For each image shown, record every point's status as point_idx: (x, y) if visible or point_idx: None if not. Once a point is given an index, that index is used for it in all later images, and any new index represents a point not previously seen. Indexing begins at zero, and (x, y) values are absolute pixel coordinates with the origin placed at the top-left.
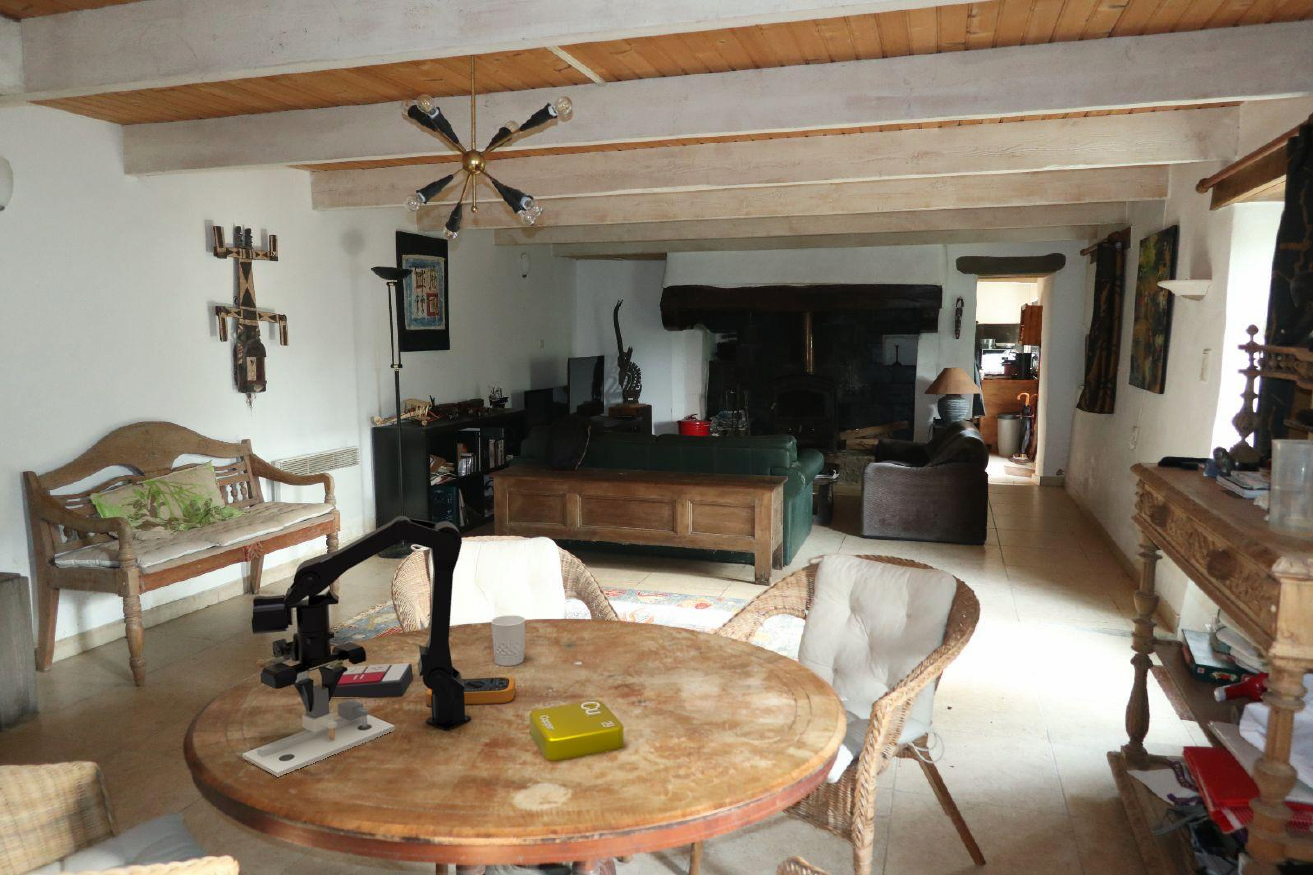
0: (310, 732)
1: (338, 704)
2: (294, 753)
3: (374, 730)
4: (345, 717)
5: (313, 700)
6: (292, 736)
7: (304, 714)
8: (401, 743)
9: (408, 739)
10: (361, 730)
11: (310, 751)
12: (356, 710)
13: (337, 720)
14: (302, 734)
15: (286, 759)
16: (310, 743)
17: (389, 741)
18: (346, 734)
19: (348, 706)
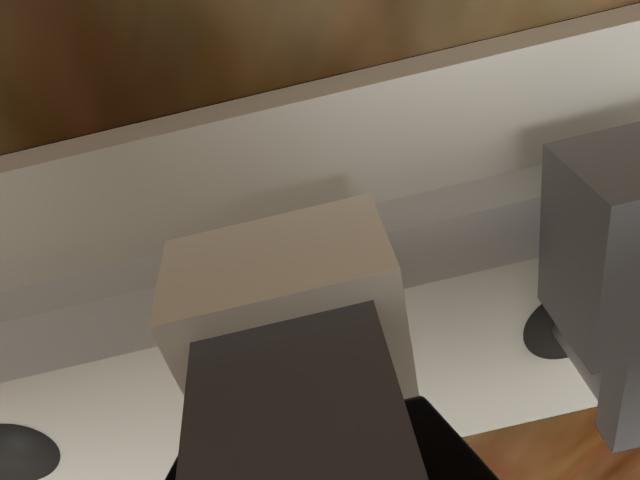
0: None
1: (609, 218)
2: (63, 430)
3: (574, 386)
4: (545, 255)
5: None
6: (54, 329)
7: (176, 325)
8: (575, 474)
9: (623, 458)
10: (527, 350)
11: (161, 444)
12: (619, 379)
13: (478, 236)
14: (140, 331)
15: (8, 471)
16: None
17: (557, 440)
18: (429, 357)
19: (624, 329)
